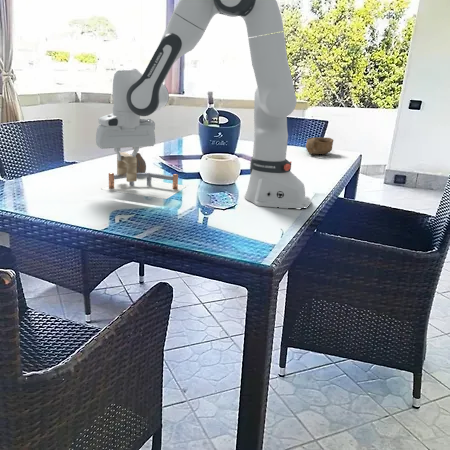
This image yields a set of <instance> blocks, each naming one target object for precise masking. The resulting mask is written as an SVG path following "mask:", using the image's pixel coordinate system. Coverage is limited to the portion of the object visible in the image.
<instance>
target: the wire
mask: <svg viewBox="0 0 450 450" xmlns="http://www.w3.org/2000/svg"><path fill="white" fill-rule="evenodd" d="M125 178H126V174H118V175H117V174H115V173H114V172H109V173H108V186H109V188H110V189H113V188H114V183H115V180H119V179H120V180H122V179H125ZM137 178H146V180H147V185H151V180H152V178H153V179H158V180H159V179H160V180H166V181H167V180H169V181H172V183H173V189H178V184H179V174H177V173H173V174H172V175H169V174H168V175H167V174H166V175H165V174H159V173H152V172H145V173H137ZM129 184H130V185H134V181H133V182H129Z"/></svg>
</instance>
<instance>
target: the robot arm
mask: <svg viewBox="0 0 450 450" xmlns="http://www.w3.org/2000/svg"><path fill="white" fill-rule="evenodd" d="M217 14H218V15H223V16H227V17H230V18H231V17H232V18H233V17H235V18H236V17H241V18H242V19H243V20H244V23H245V27H246V32H247V37H248V39H247V40H248V45H249V53H250V60H251V61H250V62H251V66H252V68H253V73H254V77H255V81H256V86H257V87H256V89H255V91H254V102H253V103H254V106H253V109H254V110H253V113H254V116H253V119H254V120H253V121H254V123H253V125H254V129H253V130H254V132H253V133H254V134H253V148H252V156H251V159H250V166H249V172H250V176H249V182H248V185H247V189H246V191H245V195H244V199H245V200H247V201H249V202H251V203H253V204H254V205H255V206H259V207H265V208H266V207H268V208H277V207H279V208H280V209H288V208H304V207H307V206H308V205H309V204H310V203H312V199H311V198H310V197H309V196H307V195H306V188H305V185H304V182H303V181H302V180H301V179H299V178H298V177H297V176H296V175H295V174H294V173H292V171H291V170H292V161H290V160H288V159H287V149H288V142H289V141H288V140H289V133H288V118H287V117H289V116H290V115H291V114H292V113H294V110H295V109H296V107H297V96H296V91H295V87H294V82H293V81H294V80H293V77H292V72H291V69H290V66H289V60H288V54H287V47H286V40H285V39H286V37H285V32H284V31H285V30H284V23H283V20H282V19H283V18H282V15H281V10H280V7H279V3H278V1H277V0H179V1H178V2H177V4H176V6H175V8H174V10H173V11H172V14H171V15H170V18H169V21H168V23H167V26H166V28H165V30H164V33H163V35H162V38H161V40H160V41H159V44H158V45H157V48H156V49H155V52H154V53H153V55H152V57H151V59H150V60H149V62H148V65H147V66H146V68H145V70H144V72H143V73H142V72H140V71H139V69H137V68H126V69H119V70H117V71H116V72H115V73H114V75H113V78H112V98H113V107H112V112H111V113H109V114H106V115H103V116H100V117H99V118H98V124H99V125H98V127H97V128H96V134H95V145H96V146H97V147H98V148H99V149H102V150H103V149H104V150H105V149H107V150H108V149H113V150H114V152H115V154H116V156H117V155H118V161H123V160H124V159H123V155H121V154H120V152H121V148H122V149H123V148H125V149H126V148H127V149H128V148H132V149H133V151H132V153H130V155H132V156H134V157H136V154H137V153H139V151H140V150H139V149H140V148H143V147H144V148H146V147H154V146H155V144H156V133H155V130H156V123H155V122H154V120H152V119H151V118H141V117H148V116H150V115H152V114H153V113H155V112H158V111H161V110H162V109H163V108H165V107H166V105H167V104H168V102H169V99H170V96H169V94H170V93H169V91H168V88H167V87H166V85H165V84H164V82H165V80H166V78H167V77H168V74H169V73H170V71H171V69H172V68H173V65H174V64H175V63H176V62H177V61H178V60H179V59H180V58H181V57H182V56H184V55H185V54H187V53H189V52H191V51H192V50H193V49H194V48H195V47H196V46H197V45H198V44H199V42H200V41H201V39H202V38H203V36H204V34H205V32H206V30H207V28H208V26H209V24H210V22H211V20H212V19H213V18H214V16H215V15H217Z"/></svg>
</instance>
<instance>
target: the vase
mask: <svg viewBox="0 0 450 450" xmlns="http://www.w3.org/2000/svg"><path fill="white" fill-rule="evenodd" d="M136 158H137V173H147V172H146V170H147V163H146V161H145V159H144V158H143V157H142V154H141V153H140V152H137V154H136Z"/></svg>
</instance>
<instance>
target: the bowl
mask: <svg viewBox="0 0 450 450" xmlns="http://www.w3.org/2000/svg"><path fill="white" fill-rule="evenodd" d="M334 141H335V140H334V138H331V137H321V136H319V137H315V136H314V137H309V138H307V139H306V143H305V148H306V150H307V152H308V153H309V154H310V155H319V154H322V155H326V154H328V153H330V152H331V151H332V150H333V144H334Z"/></svg>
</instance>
